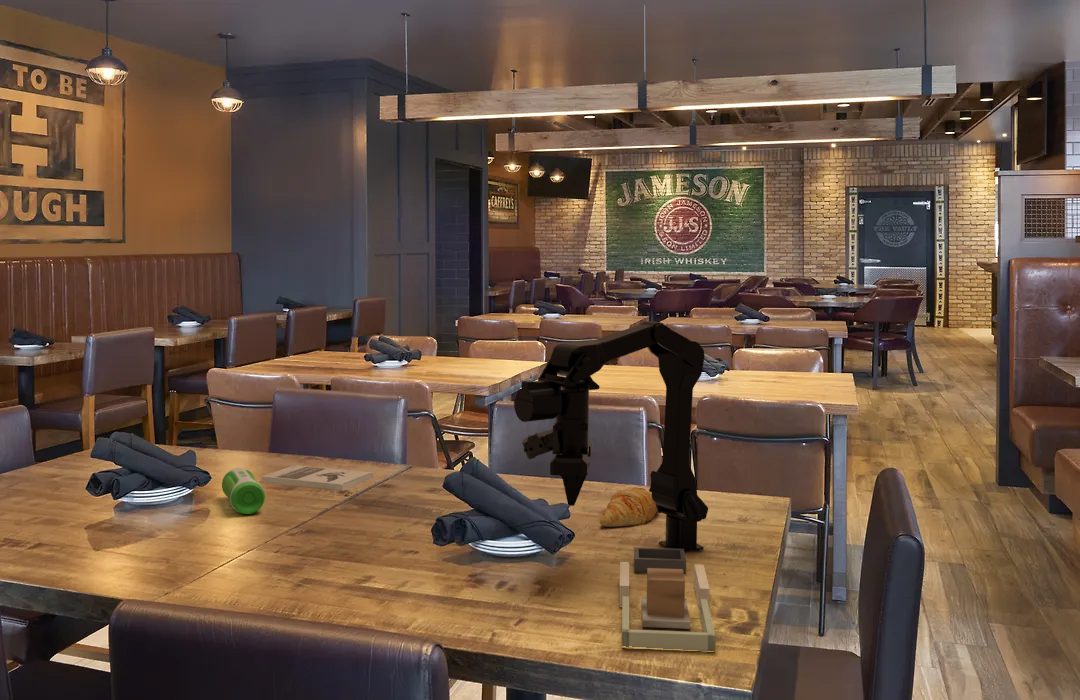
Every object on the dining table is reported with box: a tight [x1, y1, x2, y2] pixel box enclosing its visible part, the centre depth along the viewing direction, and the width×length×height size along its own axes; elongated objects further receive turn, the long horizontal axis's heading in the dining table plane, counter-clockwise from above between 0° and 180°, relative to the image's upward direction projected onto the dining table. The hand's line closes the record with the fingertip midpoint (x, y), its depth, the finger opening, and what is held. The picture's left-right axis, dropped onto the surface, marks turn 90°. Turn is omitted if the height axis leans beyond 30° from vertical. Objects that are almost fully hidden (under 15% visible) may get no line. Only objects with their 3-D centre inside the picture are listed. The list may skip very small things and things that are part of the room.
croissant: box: [599, 486, 658, 528], centre depth 206 cm, size 21×10×8 cm, turn 142°
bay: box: [621, 595, 716, 652], centre depth 144 cm, size 14×13×2 cm
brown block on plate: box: [641, 568, 691, 630], centre depth 149 cm, size 10×7×6 cm
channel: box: [619, 561, 710, 610], centre depth 159 cm, size 12×14×4 cm
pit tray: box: [633, 546, 687, 575], centre depth 173 cm, size 7×9×2 cm
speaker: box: [221, 467, 266, 515], centre depth 213 cm, size 18×7×8 cm, turn 25°
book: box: [260, 464, 374, 492], centre depth 239 cm, size 23×14×2 cm, turn 69°
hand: (571, 505), depth 169 cm, fingers closed
